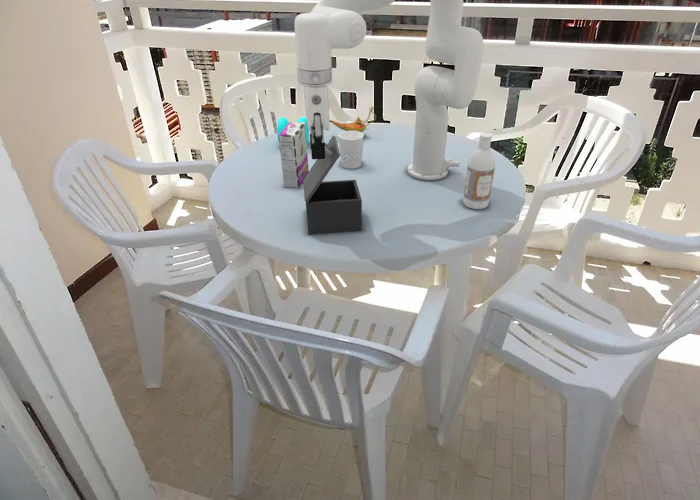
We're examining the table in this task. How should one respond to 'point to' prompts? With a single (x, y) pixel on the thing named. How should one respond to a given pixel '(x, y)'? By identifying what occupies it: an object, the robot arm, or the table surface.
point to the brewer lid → (320, 169)
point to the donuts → (284, 122)
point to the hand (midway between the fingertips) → (317, 153)
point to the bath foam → (479, 175)
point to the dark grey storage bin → (335, 208)
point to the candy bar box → (294, 154)
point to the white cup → (351, 149)
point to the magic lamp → (354, 124)
